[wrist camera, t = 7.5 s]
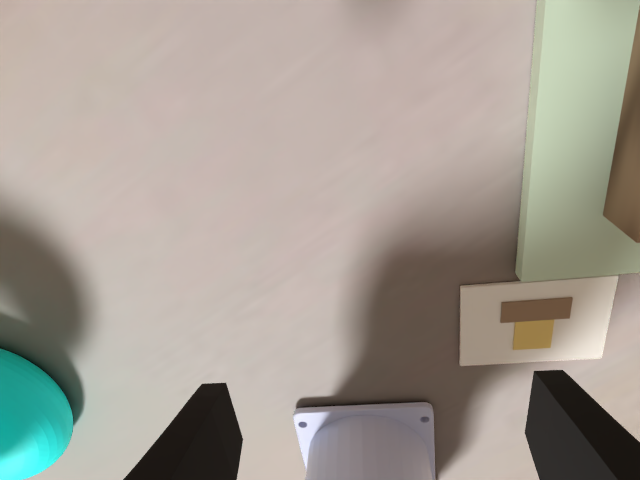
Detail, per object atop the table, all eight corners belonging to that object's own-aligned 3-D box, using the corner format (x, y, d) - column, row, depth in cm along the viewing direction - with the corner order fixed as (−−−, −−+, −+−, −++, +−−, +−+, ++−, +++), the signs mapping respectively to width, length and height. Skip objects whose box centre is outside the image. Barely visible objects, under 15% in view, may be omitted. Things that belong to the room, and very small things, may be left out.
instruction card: (599, 355, 22) (602, 359, 22) (459, 363, 23) (460, 367, 23) (616, 273, 20) (620, 276, 20) (460, 285, 21) (461, 289, 20)
